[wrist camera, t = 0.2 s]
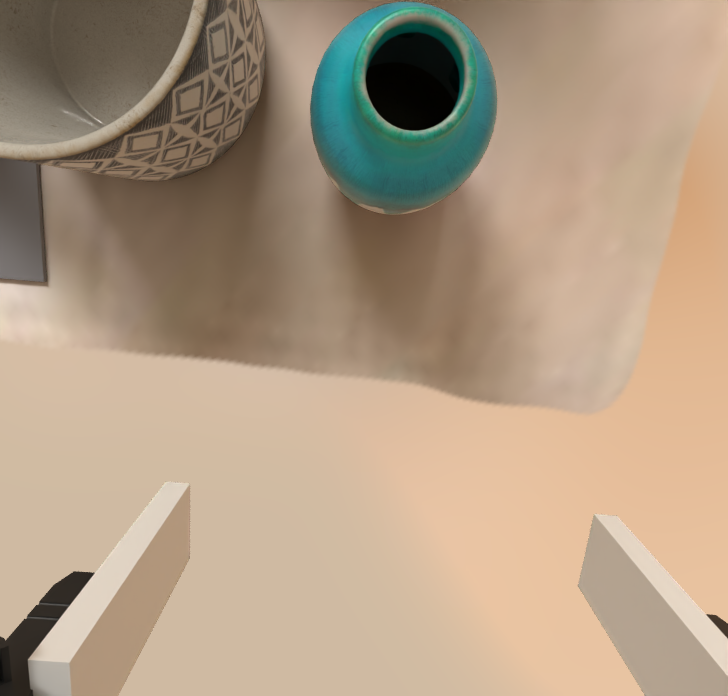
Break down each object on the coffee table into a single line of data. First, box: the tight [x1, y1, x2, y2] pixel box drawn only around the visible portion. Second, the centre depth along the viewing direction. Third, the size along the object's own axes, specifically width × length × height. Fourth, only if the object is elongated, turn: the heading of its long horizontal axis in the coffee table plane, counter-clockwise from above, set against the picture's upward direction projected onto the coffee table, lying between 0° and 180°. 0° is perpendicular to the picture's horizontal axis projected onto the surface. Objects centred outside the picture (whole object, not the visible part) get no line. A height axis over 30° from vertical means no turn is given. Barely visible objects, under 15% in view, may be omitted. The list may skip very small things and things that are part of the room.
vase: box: [310, 2, 497, 215], centre depth 30 cm, size 11×11×19 cm
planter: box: [0, 0, 265, 181], centre depth 29 cm, size 19×19×16 cm
